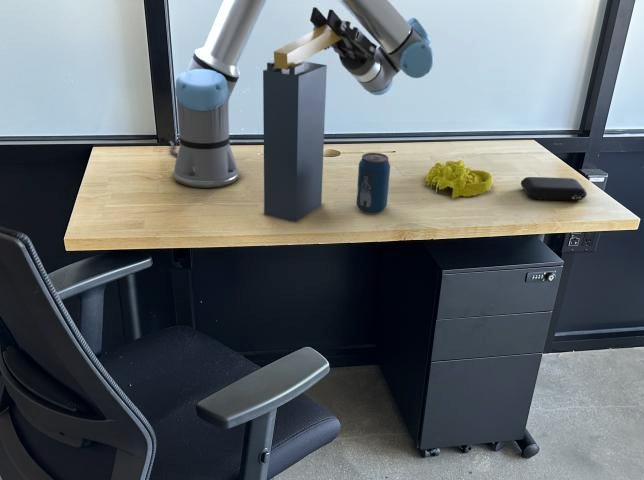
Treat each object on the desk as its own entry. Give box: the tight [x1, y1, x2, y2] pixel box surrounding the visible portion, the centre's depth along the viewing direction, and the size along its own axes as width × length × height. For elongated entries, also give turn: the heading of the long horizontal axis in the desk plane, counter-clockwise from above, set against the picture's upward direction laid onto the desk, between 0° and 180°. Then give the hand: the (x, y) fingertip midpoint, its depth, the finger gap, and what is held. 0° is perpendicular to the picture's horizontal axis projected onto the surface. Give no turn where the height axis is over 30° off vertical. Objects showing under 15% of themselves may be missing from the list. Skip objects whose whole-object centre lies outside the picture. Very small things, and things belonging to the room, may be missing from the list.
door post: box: [262, 60, 328, 223], centre depth 157 cm, size 12×8×32 cm, turn 154°
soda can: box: [355, 152, 391, 215], centre depth 165 cm, size 7×7×12 cm
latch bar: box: [273, 19, 346, 70], centre depth 152 cm, size 26×3×3 cm, turn 153°
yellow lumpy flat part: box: [424, 159, 493, 199], centre depth 183 cm, size 17×16×4 cm
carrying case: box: [520, 176, 588, 201], centre depth 180 cm, size 11×3×15 cm
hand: (321, 15), depth 152 cm, fingers closed on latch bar, 3 cm apart
